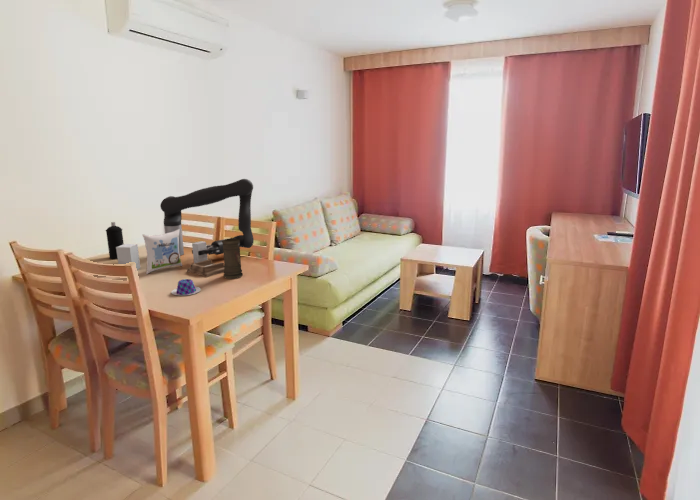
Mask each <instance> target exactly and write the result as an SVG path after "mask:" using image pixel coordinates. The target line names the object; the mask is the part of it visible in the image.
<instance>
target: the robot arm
mask: <svg viewBox="0 0 700 500" xmlns="http://www.w3.org/2000/svg"><path fill="white" fill-rule="evenodd" d="M253 189H254V184H253V183H252V181H251V180H250V179H247V178H242V179H239V180H236V181H234V182H231V183H230V182H229V183H228V184H223V185H222V184H221V185H214V186H209V187H205V188H201V189H197V190H194V191H193V192H190V193H187V194H183V195H181V196H171V195H170V196H167V197H165V198H164V199H162V200H161V203H160V210H161V211H162V212H163V214H164V218H163V231H164V234H166V233H170V232H173V231H176V230H178V229H180V231H179V253H180V256H183V255H184V253H185V251H184V238H183V237H184V236H183V230H182V229H183V228H182V211H184V210H186V209H191V208H197V207H203V206H207V205H212V204H215V203H219V202H222V201H224V200H227V199H229V198H234V197H239V210H238V223H237V224H238V230H239V231H240V232H241V233H242V234H239V235H236V236H234V237H232V238H236V239H240V245H239V246H240V248H245V249H246V248H247V249H250V248H251V247H253V245H254V235H253V232H252V231H253V230H252V216H251V215H252V214H251V212H252V211H251V210H252V209H251V207H252V206H251V204H252V203H251V201H252V195H253ZM224 239H225V238H223V239H218V240H215V241H212V243H211V244H208V245H207V244H206V247H207V249H205V250H201V251H198V255H204V254H206V255H207V256H208V255H216V256H218V255H222V254H223V255H224V253H223V243H222V240H224ZM191 254H192V255H193V249H191Z"/></svg>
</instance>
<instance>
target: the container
mask: <svg viewBox="0 0 700 500" xmlns="http://www.w3.org/2000/svg"><path fill="white" fill-rule="evenodd" d="M223 239H224V240H223ZM223 239H221V240H222V243H223V263H224V272H223V278H225V279H230V280H235V279H238V278H239V279H240V278H241V277H243V275H244V273H243V269H242V263H241V247H240V246H239V245H240V239H236V238H233V237H231V238H223Z"/></svg>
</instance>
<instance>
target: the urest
mask: <svg viewBox="0 0 700 500" xmlns="http://www.w3.org/2000/svg"><path fill="white" fill-rule="evenodd" d="M186 271H187V272H189V273H192V274H196V275H199V276H203V277H206V278H208V277H209V278H210V277H212V276H215V275H218V274H224V261H223V262H222V261H220V262H217V263H215V262H212V259H208V260H205V261H201V262H197V263H194V262H192V263H190V267H188V268H186Z"/></svg>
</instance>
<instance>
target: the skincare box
mask: <svg viewBox="0 0 700 500" xmlns="http://www.w3.org/2000/svg"><path fill="white" fill-rule="evenodd" d="M191 246H192V247H191V248H192V250H193V254H192V257H193V263H197V262H201V261H205V260H209V259H208V254H207V255H206V254H204V255H198V251H201V250H205V249H207V247H206V246H207V242H206V241H202V240H201V241H195V242H192V244H191Z"/></svg>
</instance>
